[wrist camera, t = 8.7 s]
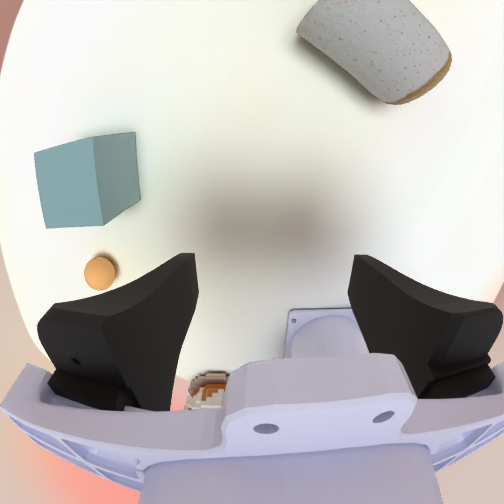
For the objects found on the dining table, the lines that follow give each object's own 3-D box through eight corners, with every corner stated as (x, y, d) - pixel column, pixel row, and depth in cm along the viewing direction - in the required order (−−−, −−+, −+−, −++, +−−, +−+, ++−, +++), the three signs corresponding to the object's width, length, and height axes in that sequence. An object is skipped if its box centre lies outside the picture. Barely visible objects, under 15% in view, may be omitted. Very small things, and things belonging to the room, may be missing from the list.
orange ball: (123, 280, 24) (109, 298, 21) (98, 278, 24) (83, 295, 21) (116, 251, 22) (101, 267, 20) (91, 251, 22) (74, 266, 20)
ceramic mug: (374, 115, 17) (431, 111, 10) (287, 45, 15) (304, 0, 8) (433, 41, 13) (489, 24, 6) (360, -22, 11) (395, -64, 4)
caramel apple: (183, 369, 29) (154, 485, 15) (250, 369, 28) (244, 496, 15) (199, 404, 32) (182, 502, 19) (257, 404, 31) (254, 508, 18)
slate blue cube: (140, 199, 20) (103, 225, 15) (87, 203, 20) (46, 228, 15) (135, 132, 18) (92, 136, 13) (80, 142, 18) (33, 152, 13)
